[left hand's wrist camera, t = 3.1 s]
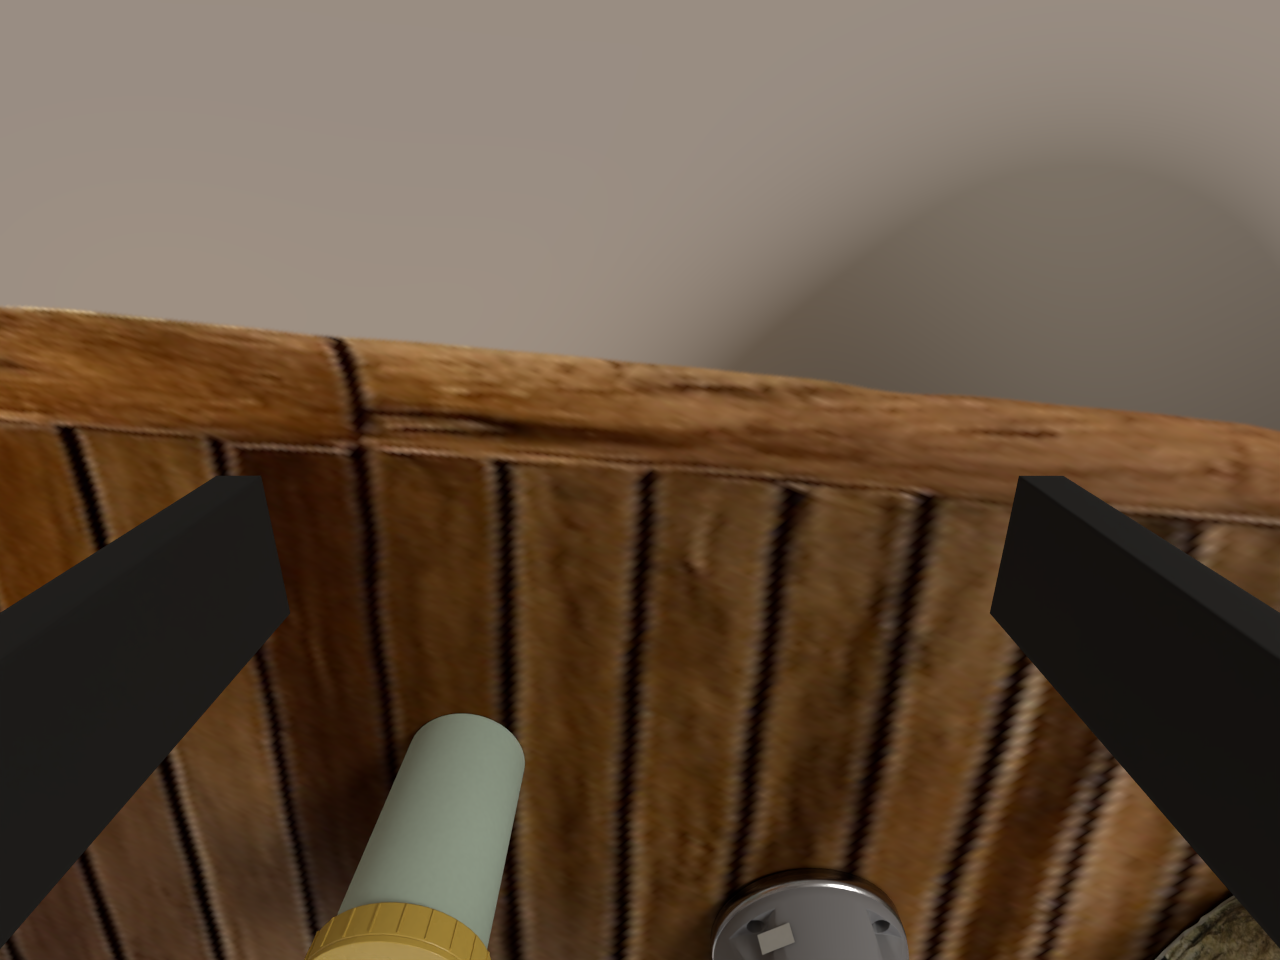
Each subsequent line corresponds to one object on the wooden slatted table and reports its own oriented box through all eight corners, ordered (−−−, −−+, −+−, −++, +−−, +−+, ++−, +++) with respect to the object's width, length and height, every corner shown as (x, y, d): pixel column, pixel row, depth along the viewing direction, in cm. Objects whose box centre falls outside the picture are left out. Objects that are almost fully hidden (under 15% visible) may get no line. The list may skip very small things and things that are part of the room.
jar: (526, 805, 51) (479, 1051, 36) (413, 802, 51) (320, 1048, 36) (523, 715, 48) (471, 943, 33) (404, 711, 48) (297, 938, 33)
